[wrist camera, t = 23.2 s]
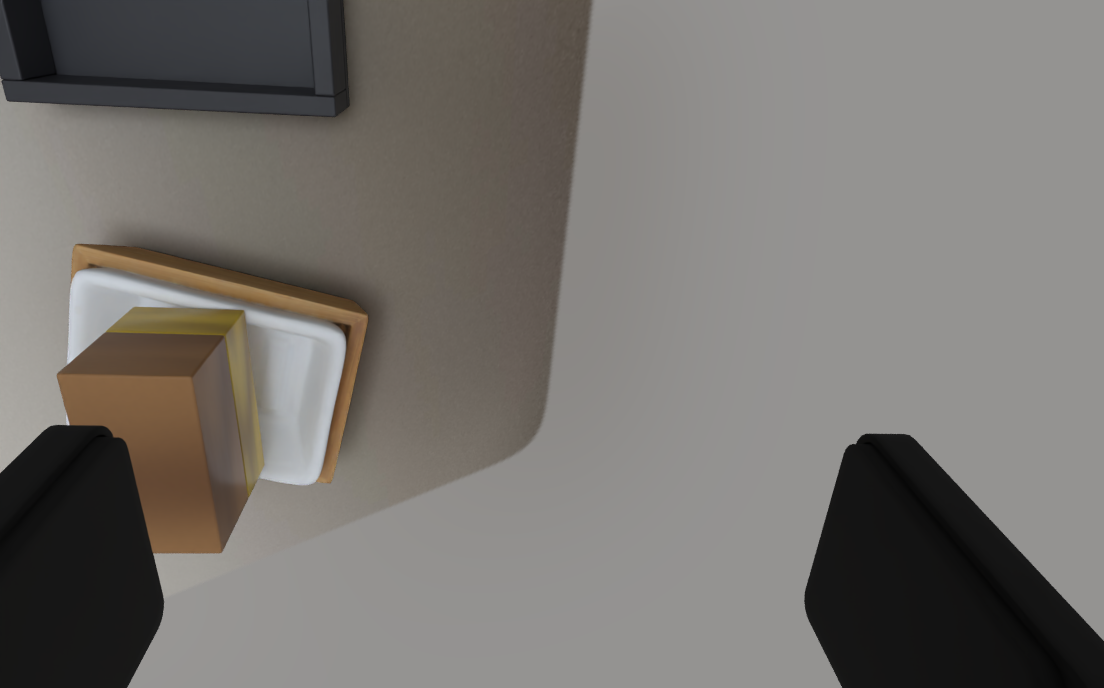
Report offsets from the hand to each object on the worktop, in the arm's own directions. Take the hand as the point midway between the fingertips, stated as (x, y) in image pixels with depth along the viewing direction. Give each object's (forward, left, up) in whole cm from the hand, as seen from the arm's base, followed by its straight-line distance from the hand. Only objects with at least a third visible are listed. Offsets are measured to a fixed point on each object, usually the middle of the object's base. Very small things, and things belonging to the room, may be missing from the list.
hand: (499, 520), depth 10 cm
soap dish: (+16, -3, -26) cm, 31 cm away
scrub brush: (+16, -3, -21) cm, 27 cm away
